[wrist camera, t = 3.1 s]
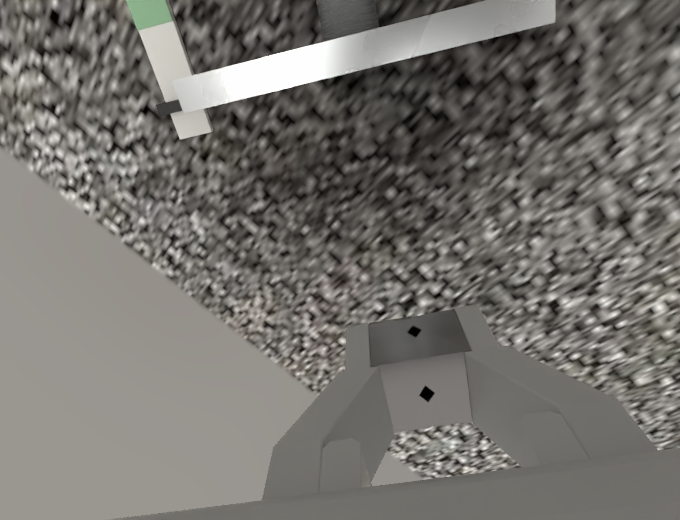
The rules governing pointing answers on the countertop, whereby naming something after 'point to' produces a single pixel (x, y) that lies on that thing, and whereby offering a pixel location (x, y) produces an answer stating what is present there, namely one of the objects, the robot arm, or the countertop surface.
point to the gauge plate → (357, 47)
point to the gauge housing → (168, 59)
